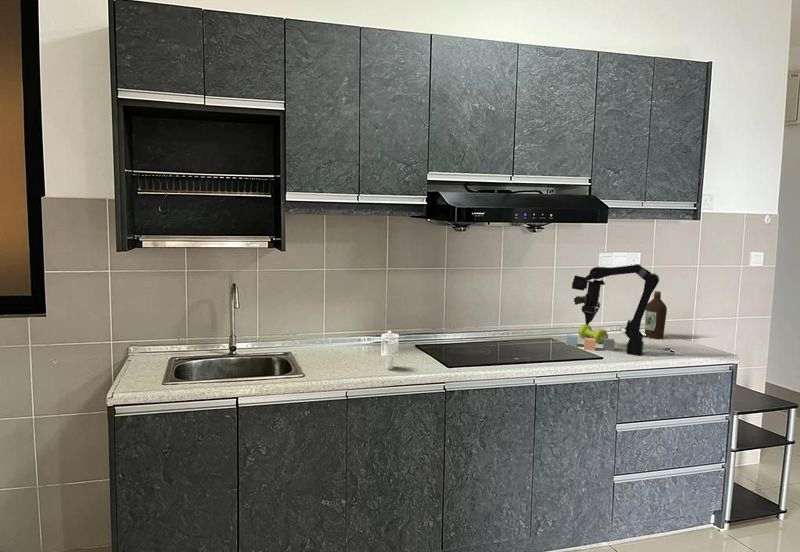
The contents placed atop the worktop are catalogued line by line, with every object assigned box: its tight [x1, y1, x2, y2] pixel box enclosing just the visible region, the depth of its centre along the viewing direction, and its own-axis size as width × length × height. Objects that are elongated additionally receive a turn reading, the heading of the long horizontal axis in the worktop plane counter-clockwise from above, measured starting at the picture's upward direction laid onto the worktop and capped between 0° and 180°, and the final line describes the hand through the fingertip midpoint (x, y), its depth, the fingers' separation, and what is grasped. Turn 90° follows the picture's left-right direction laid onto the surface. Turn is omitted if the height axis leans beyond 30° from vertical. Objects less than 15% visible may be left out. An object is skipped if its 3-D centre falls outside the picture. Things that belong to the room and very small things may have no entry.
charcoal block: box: [602, 337, 615, 352], centre depth 292 cm, size 5×5×5 cm
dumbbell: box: [577, 323, 609, 345], centre depth 310 cm, size 16×8×7 cm, turn 20°
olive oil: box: [644, 290, 668, 340], centre depth 322 cm, size 11×11×25 cm
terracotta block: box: [583, 337, 596, 352], centre depth 292 cm, size 5×5×5 cm
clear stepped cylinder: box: [380, 330, 400, 370], centre depth 246 cm, size 7×7×15 cm
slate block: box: [565, 333, 579, 348], centre depth 298 cm, size 5×5×5 cm
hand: (588, 323), depth 294 cm, fingers open, 9 cm apart
